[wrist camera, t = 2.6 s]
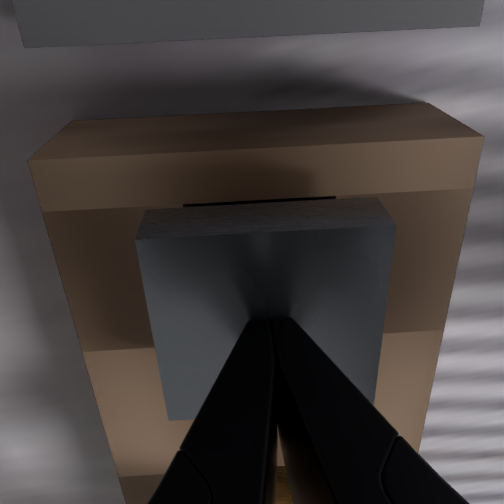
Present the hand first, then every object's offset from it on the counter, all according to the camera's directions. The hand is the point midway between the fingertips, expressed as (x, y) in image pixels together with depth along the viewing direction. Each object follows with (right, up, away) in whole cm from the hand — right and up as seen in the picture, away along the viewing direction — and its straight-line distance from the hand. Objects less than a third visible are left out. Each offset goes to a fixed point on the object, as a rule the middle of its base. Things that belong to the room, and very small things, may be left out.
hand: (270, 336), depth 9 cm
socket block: (0, -2, +7) cm, 7 cm away
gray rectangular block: (0, +2, +4) cm, 5 cm away
